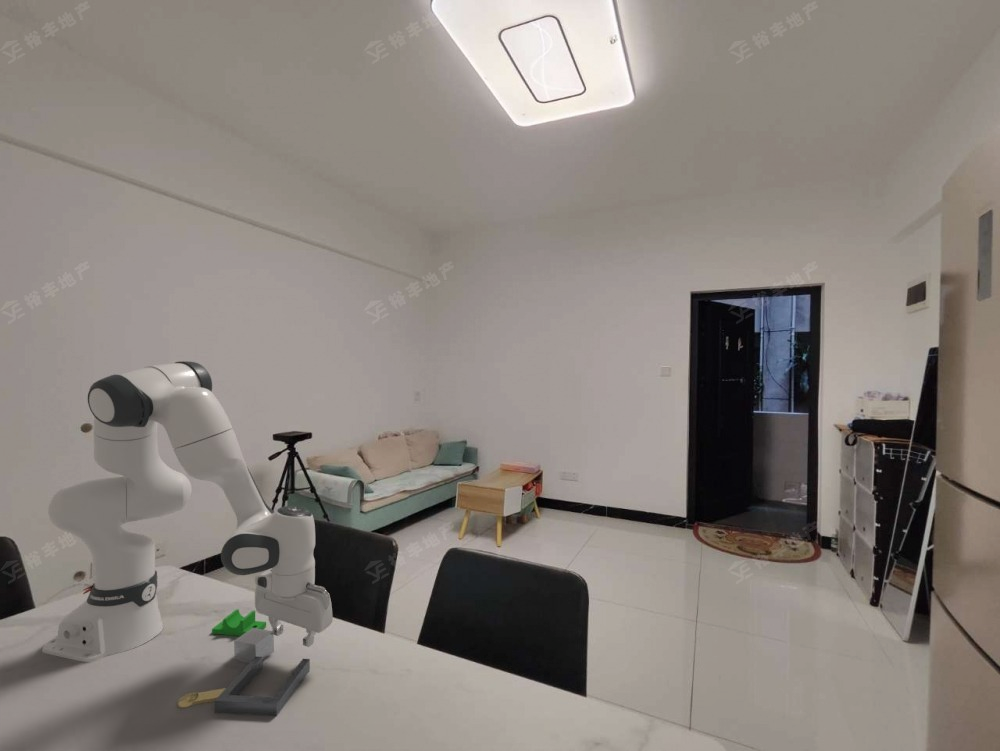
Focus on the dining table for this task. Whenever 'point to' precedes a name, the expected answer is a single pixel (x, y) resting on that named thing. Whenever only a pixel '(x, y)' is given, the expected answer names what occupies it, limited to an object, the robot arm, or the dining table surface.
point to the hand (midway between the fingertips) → (292, 639)
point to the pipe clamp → (238, 624)
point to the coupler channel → (253, 704)
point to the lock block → (254, 645)
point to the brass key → (199, 698)
